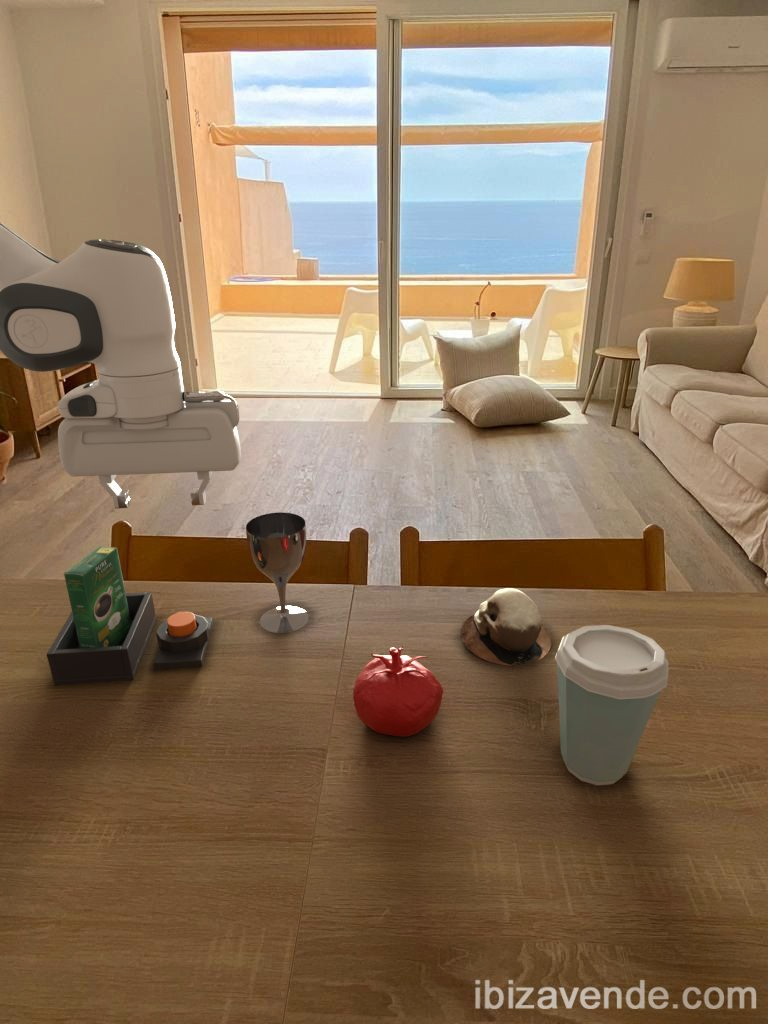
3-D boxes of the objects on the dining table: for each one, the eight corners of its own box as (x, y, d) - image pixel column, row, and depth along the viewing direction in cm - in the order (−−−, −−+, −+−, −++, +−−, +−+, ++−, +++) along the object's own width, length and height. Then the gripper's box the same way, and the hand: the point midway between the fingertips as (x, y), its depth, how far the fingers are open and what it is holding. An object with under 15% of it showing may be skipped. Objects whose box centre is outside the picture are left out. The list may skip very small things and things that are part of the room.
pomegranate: (413, 762, 73) (414, 691, 70) (337, 727, 78) (333, 660, 75) (457, 708, 81) (459, 642, 77) (384, 680, 86) (383, 616, 82)
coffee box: (116, 627, 96) (98, 543, 91) (135, 630, 96) (118, 545, 90) (81, 662, 89) (60, 573, 83) (101, 665, 88) (81, 575, 83)
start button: (166, 638, 90) (164, 627, 90) (171, 623, 94) (169, 612, 93) (194, 636, 91) (192, 625, 90) (198, 621, 94) (196, 610, 93)
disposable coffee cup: (525, 742, 76) (535, 627, 70) (606, 717, 79) (623, 605, 73) (583, 816, 67) (601, 690, 60) (673, 784, 70) (698, 662, 64)
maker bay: (54, 686, 86) (46, 654, 84) (87, 624, 98) (81, 595, 96) (133, 680, 87) (127, 649, 85) (156, 620, 99) (151, 591, 97)
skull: (437, 622, 95) (481, 562, 95) (483, 650, 101) (525, 593, 101) (485, 668, 85) (534, 601, 85) (533, 696, 91) (580, 633, 91)
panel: (152, 670, 88) (148, 651, 87) (168, 626, 98) (165, 608, 96) (204, 667, 89) (201, 648, 88) (215, 624, 98) (212, 605, 97)
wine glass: (244, 620, 99) (233, 525, 92) (289, 598, 104) (281, 507, 98) (279, 642, 94) (269, 543, 87) (323, 619, 99) (318, 524, 92)
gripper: (239, 383, 82) (250, 491, 88) (62, 389, 81) (84, 498, 86) (233, 398, 76) (245, 512, 82) (42, 403, 75) (67, 519, 81)
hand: (161, 505), depth 84 cm, fingers open, 8 cm apart
